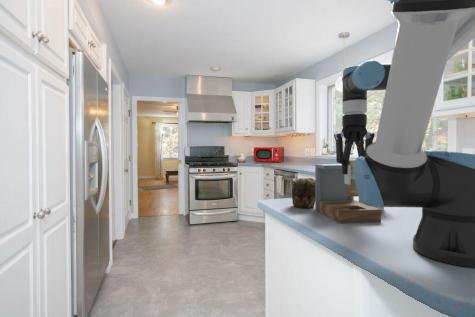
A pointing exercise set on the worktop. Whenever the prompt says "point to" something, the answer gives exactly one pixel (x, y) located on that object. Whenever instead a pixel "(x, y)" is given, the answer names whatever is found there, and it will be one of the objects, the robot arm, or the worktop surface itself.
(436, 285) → the worktop surface
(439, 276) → the worktop surface
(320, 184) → the grey open drawer
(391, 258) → the worktop surface
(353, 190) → the peg
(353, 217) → the socket block
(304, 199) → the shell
